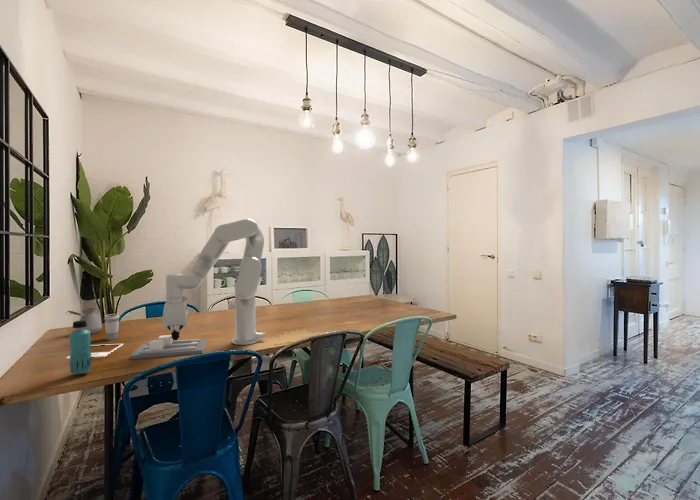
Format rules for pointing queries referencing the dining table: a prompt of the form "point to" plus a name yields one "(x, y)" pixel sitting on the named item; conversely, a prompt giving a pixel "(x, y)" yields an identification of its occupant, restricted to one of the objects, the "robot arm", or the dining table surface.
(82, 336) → the beverage bottle
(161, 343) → the switch tab
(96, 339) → the dining table surface
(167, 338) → the switch tab
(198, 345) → the switch panel
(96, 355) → the photo frame
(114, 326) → the cup
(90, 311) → the coffee pot
